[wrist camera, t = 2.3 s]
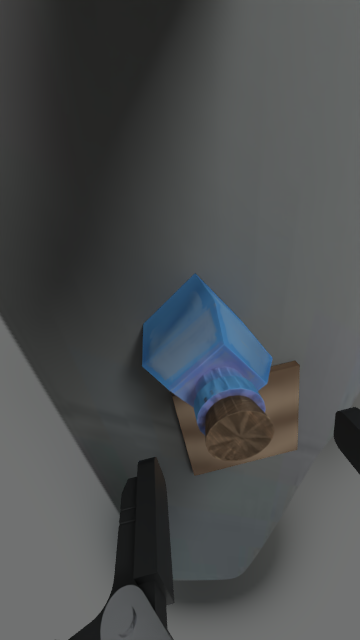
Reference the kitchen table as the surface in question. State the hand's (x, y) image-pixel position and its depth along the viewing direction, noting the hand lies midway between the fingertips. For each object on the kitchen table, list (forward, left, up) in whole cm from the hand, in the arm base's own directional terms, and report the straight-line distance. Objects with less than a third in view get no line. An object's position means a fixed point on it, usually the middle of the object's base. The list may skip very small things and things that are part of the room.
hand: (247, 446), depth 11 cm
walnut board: (+13, +3, -12) cm, 18 cm away
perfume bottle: (0, 0, -13) cm, 13 cm away
